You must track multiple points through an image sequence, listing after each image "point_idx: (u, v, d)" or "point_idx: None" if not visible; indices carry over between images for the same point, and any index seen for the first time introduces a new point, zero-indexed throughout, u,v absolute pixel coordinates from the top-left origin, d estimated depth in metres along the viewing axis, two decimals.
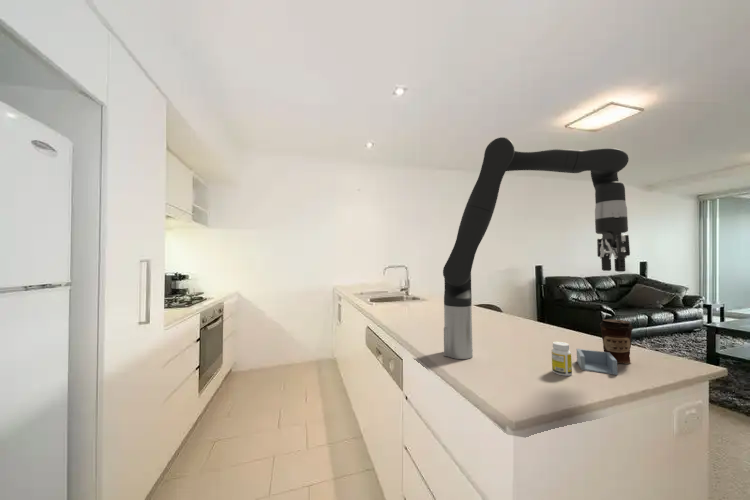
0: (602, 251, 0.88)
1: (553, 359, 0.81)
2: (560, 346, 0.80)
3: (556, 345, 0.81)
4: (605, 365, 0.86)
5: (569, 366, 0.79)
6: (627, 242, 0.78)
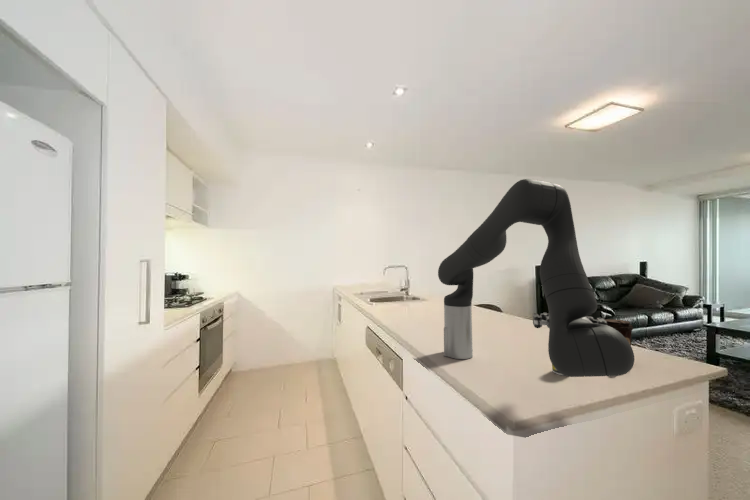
0: None
1: None
2: None
3: None
4: None
5: None
6: None
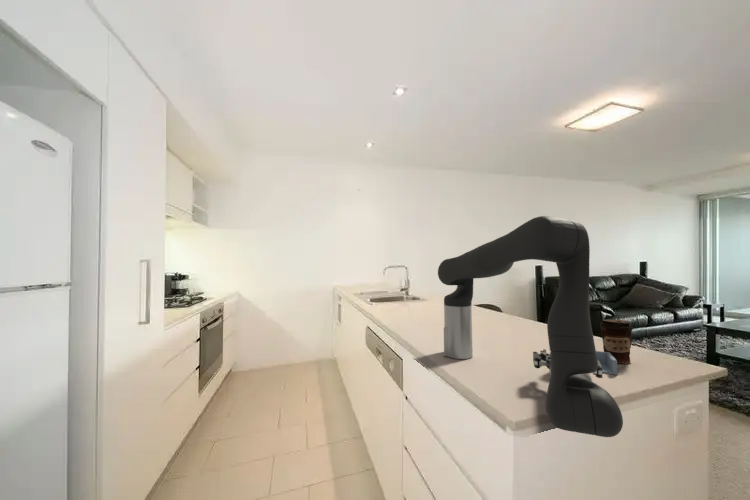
0: None
1: None
2: None
3: None
4: (605, 365, 0.86)
5: None
6: None
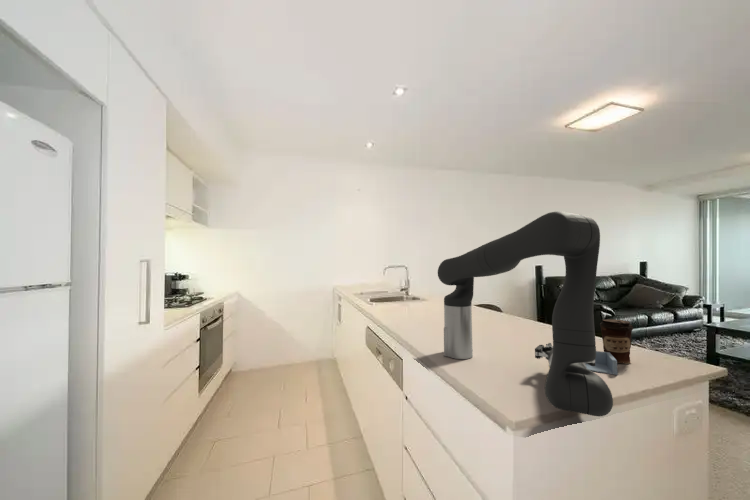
0: None
1: None
2: None
3: None
4: (605, 365, 0.86)
5: None
6: None
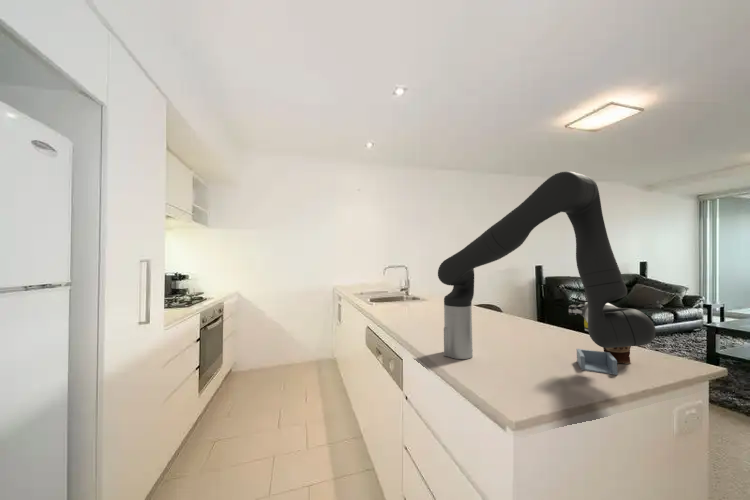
0: None
1: None
2: None
3: None
4: (605, 365, 0.86)
5: None
6: None
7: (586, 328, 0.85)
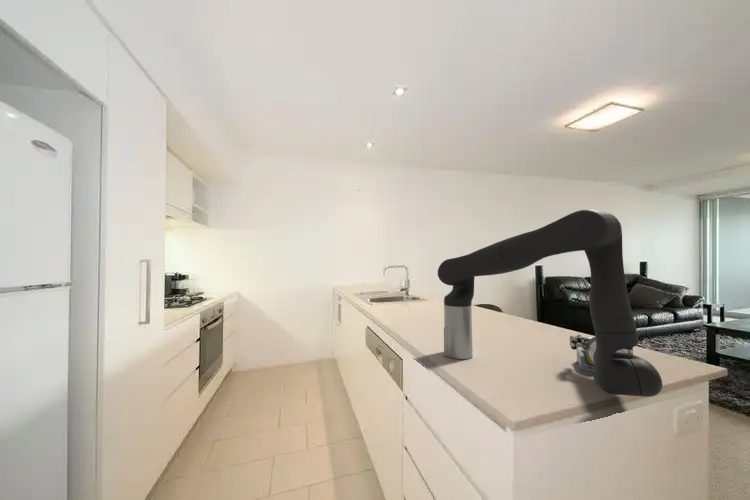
0: None
1: None
2: None
3: None
4: None
5: None
6: (570, 345, 0.84)
7: (589, 364, 0.85)
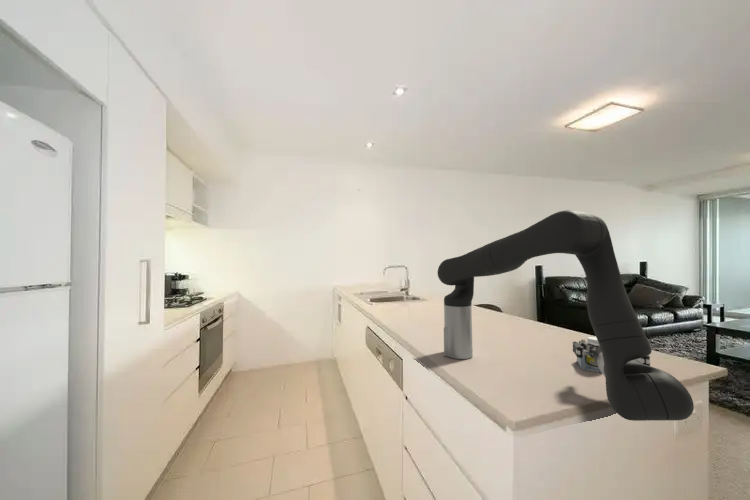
0: None
1: None
2: (595, 341, 0.84)
3: (591, 340, 0.85)
4: None
5: None
6: (575, 353, 0.72)
7: (589, 364, 0.85)
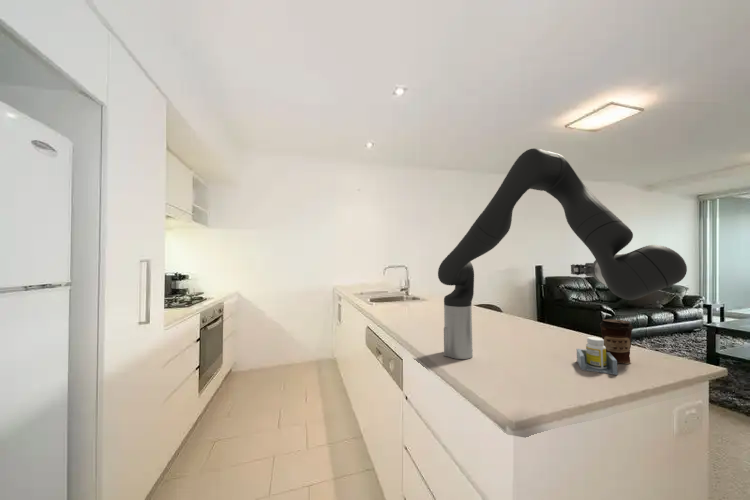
0: None
1: (588, 353, 0.85)
2: (595, 341, 0.84)
3: (591, 340, 0.85)
4: None
5: (604, 360, 0.83)
6: (573, 272, 0.73)
7: (589, 364, 0.85)
